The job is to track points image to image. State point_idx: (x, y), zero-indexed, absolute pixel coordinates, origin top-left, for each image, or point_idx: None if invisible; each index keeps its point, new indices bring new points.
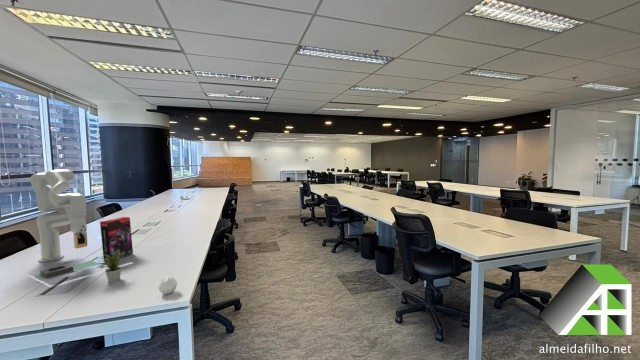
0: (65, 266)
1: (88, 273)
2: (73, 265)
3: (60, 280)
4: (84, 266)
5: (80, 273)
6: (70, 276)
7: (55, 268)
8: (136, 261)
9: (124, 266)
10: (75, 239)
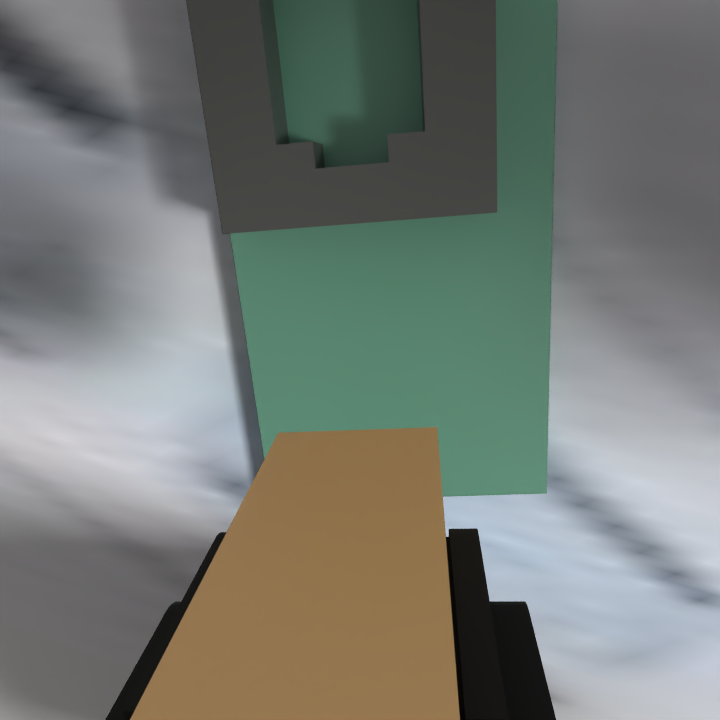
0: (345, 168)
1: (55, 319)
2: (521, 302)
3: (34, 28)
4: (319, 368)
5: (137, 266)
6: (110, 156)
7: (421, 45)
8: (83, 707)
9: (2, 595)
10: (279, 610)
